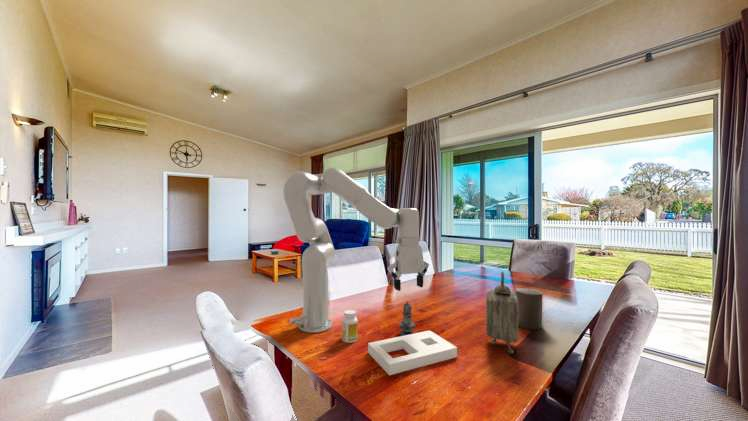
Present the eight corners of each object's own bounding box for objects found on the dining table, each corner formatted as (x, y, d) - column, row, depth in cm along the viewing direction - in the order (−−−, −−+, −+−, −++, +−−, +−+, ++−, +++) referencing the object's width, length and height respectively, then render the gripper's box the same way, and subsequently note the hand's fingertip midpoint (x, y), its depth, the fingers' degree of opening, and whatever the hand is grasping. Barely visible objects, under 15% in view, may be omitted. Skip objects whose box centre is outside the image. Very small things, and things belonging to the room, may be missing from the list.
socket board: (389, 375, 80) (389, 364, 80) (368, 352, 93) (368, 343, 93) (456, 357, 91) (457, 347, 91) (429, 338, 103) (429, 330, 103)
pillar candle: (536, 332, 110) (537, 292, 110) (510, 324, 118) (511, 286, 118) (545, 325, 117) (546, 288, 117) (520, 318, 124) (521, 283, 124)
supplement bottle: (359, 337, 104) (360, 310, 103) (353, 344, 98) (354, 315, 98) (345, 335, 105) (346, 308, 105) (339, 341, 100) (339, 313, 100)
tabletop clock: (517, 358, 91) (518, 277, 90) (486, 352, 94) (487, 275, 94) (512, 338, 104) (514, 269, 104) (485, 334, 107) (486, 266, 107)
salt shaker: (414, 337, 104) (415, 304, 104) (398, 336, 105) (398, 303, 105) (415, 331, 110) (415, 299, 110) (399, 329, 111) (400, 298, 111)
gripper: (393, 244, 100) (393, 293, 100) (434, 241, 108) (434, 287, 108) (383, 242, 107) (383, 288, 107) (422, 239, 114) (422, 283, 114)
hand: (408, 288), depth 107 cm, fingers open, 9 cm apart
